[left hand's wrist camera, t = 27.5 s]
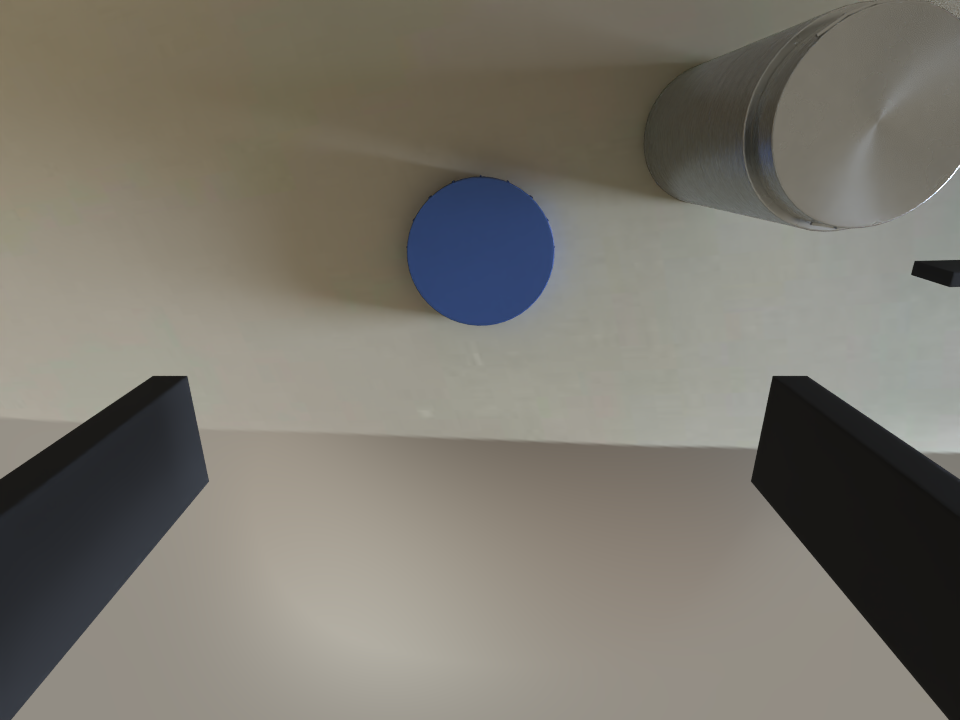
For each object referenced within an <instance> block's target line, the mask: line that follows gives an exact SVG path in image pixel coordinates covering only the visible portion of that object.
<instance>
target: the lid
mask: <svg viewBox="0 0 960 720" xmlns="http://www.w3.org/2000/svg"><path fill="white" fill-rule="evenodd" d="M532 198H533V197H532V196H531V195H530V196H529V195H528V194H526V193H525V192H524V191H522V190H521V189H520V188H518V187H516V186H515V185H513V184H511V183H509V181H508V180H507V181H504V180H500V179H497V178H492V177H481V175H480V177H470V178H464V179H461V180H458V181H452V183H451V184H448V185H446V186H445V187H443V188H442V189H440V190H439V191H438V192H436V193H435V194H434V195H433V196H432V195H431V196H430V197H429V199H428V201H427V202H426V203H425V204H424V205H423V206H422V208H421V209H420V211H419V212H418V214H417V215H416V217H415V218H414V219H413V224H412V227H411V229H410V232H409V238H408V244H407V259H408V266H409V271H410V274H411V277H412V280H413V282H414V284H415V286H416V288H417V290H418V291H419V293H420V294H421V296H422V297H423V298H424V299H425V300H426V302H427V303H428V304H429V305H430V306H431V307H433V308H434V309H435V310H436V311H438V312H439V313H440V314H442V315H444V316H445V317H447V318H449V319H451V320H454V321H457V322H459V323H464V324H468V325H477V326H481V325H493V324H498V323H501V322H505V321H507V320H510V319H512V318H514V317H516V316H518V315H519V314H521V313H522V312H524V311H525V310H526V309H528V308H529V307H530V306H531V305H532V304H533V303H534V302H535V301H536V300H537V298H538V297H539V296H540V295H541V293H542V292H543V290H544V288H545V287H546V285H547V282H548V280H549V278H550V275H551V271H552V268H553V262H554V248H555V246H554V241H553V236H552V232H551V228H550V226H549V223H548V219H547V218H546V217H545V215H544V213H543V211H542V210H541V209H540V207H539V206H538V205H537V203H536V202H535V201H534V200H533V199H532Z"/></svg>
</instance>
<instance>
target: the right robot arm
mask: <svg viewBox="0 0 960 720" xmlns="http://www.w3.org/2000/svg"><path fill="white" fill-rule="evenodd" d="M911 275H913V276H917V277H920V278H923V279H926V280H929V281H932V282H935V283H939V284H942V285H945V286H948V287H960V260H940V261H915V262H914V266H913V270H912V273H911Z"/></svg>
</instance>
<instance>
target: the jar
mask: <svg viewBox="0 0 960 720" xmlns="http://www.w3.org/2000/svg"><path fill="white" fill-rule="evenodd" d="M933 3H934V2H928V1H922V0H878V1H877V0H875V1H871V2H860V3H855V4H850V5H846V6H844V7H841V8H838V9H835V10H832V11H830V12H827V13H825V14H822V15H820V16H818V17H815V18H813V19H810V20H808V21H805V22H803V23H800V24H798V25H796V26H793V27H791V28H788V29H786V30H783V31H781V32H779V33H776V34H774V35H771V36H769V37H766V38H764V39H761V40H759V41H757V42H754V43H752V44H749V45H747V46H744V47H742V48H739V49H737V50H735V51H732V52H730V53H727V54H725V55H722V56H720V57H718V58H715V59H713V60H710V61H708V62H705V63H703V64H700V65H698V66H696V67H693V68H691V69H689V70H687V71H685V72H684V73H682V74H681V75H679V76H678V77H677V78H676V79H674V80H673V81H672V82H671V83H670V84H669V85H668V86H667V87H666V88H665V89H664V90H663V92H662V93H661V94H660V96H659V97H658V99H657V100H656V102H655V104H654V106H653V107H652V110H651V112H650V114H649V117H648V120H647V124H646V129H645V134H644V152H645V157H646V162H647V165H648V168H649V170H650V172H651V174H652V176H653V178H654V179H655V181H656V182H657V184H658V185H659V186H660V187H661V188H662V189H663V190H664V191H665V192H667V193H668V194H669V195H671V196H673V197H675V198H676V199H679V200H681V201H684V202H689V203H693V204H697V205H702V206H706V207H710V208H715V209H719V210H724V211H728V212H732V213H737V214H741V215H746V216H750V217H754V218H759V219H763V220H767V221H772V222H776V223H781V224H785V225H789V226H794V227H798V228H802V229H807V230H812V231H823V232H824V231H839V230H844V229H850V228H864V227H869V226H875V225H879V224H882V223H885V222H889V221H891V220H893V219H896V218H898V217H900V216H903V215H905V214H906V213H908V212H910V211H912V210H913V209H915V208H917V207H918V206H920V205H921V204H922V203H924V202H925V201H927V200H928V199H929V198H930V197H932V196H933V195H934V194H935V193H936V192H937V191H938V190H940V189H941V188H942V186H943V185H944V184H945V183H946V182H947V181H948V180H949V179H950V178H951V177H952V175H953V174H954V173H955V172H956V170H957V169H958V168H959V166H960V19H959V18H957V17H956V16H955V15H953V14H952V13H950V12H949V11H947V10H945V9H943V8H941V7H939V6H937V5H933Z"/></svg>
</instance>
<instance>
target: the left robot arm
mask: <svg viewBox="0 0 960 720" xmlns="http://www.w3.org/2000/svg"><path fill="white" fill-rule="evenodd" d="M208 482H209V479H208V474H207V470H206V465H205V460H204V455H203V450H202V445H201V441H200V436H199V431H198V426H197V421H196V416H195V412H194V407H193V402H192V397H191V392H190V387H189V383H188V378H187V376H152V377H151V378H149V379H148V380H146V381H145V382H143V383H142V384H140V385H139V386H138V387H136V388H135V389H133V390H132V391H130V392H129V393H127V394H126V395H124V396H123V397H121V398H120V399H118V400H117V401H115V402H114V403H112V404H111V405H109V406H108V407H106V408H105V409H104V410H102V411H101V412H99V413H98V414H96V415H95V416H93V417H92V418H90V419H89V420H87V421H86V422H84V423H83V424H81V425H80V426H78V427H77V428H75V429H74V430H73V431H71V432H70V433H68V434H67V435H65V436H64V437H62V438H61V439H59V440H58V441H56V442H55V443H53V444H52V445H50V446H49V447H47V448H46V449H44V450H43V451H41V452H40V453H39V454H37V455H36V456H34V457H33V458H31V459H30V460H28V461H27V462H25V463H24V464H22V465H21V466H19V467H18V468H16V469H15V470H13V471H12V472H10V473H9V474H7V475H6V476H5V477H3V478H2V479H0V720H11V719H12V718H13V717H14V716H15V714H16V713H17V712H18V711H19V710H20V708H21V707H22V706H23V705H24V703H25V702H26V701H27V700H28V699H29V697H30V696H31V695H32V694H33V693H34V691H35V690H36V689H37V688H38V687H39V685H40V684H41V683H42V682H43V681H44V679H45V678H46V677H47V676H48V675H49V673H50V672H51V671H52V670H53V669H54V667H55V666H56V665H57V664H58V662H59V661H60V660H61V659H62V658H63V656H64V655H65V654H66V653H67V652H68V650H69V649H70V648H71V647H72V646H73V644H74V643H75V642H76V641H77V640H78V638H79V637H80V636H81V635H82V634H83V632H84V631H85V630H86V629H87V628H88V626H89V625H90V624H91V623H92V622H93V620H94V619H95V618H96V617H97V616H98V614H99V613H100V612H101V611H102V610H103V608H104V607H105V606H106V605H107V603H108V602H109V601H110V600H111V599H112V598H113V596H114V595H115V594H116V593H117V591H118V590H119V589H120V588H121V587H122V585H123V584H124V583H125V582H126V581H127V579H128V578H129V577H130V576H131V575H132V573H133V572H134V571H135V570H136V569H137V567H138V566H139V565H140V564H141V563H142V561H143V560H144V559H145V558H146V556H147V555H148V554H149V553H150V552H151V551H152V549H153V548H154V547H155V546H156V545H157V543H158V542H159V541H160V540H161V538H162V537H163V536H164V535H165V534H166V532H167V531H168V530H169V529H170V528H171V526H172V525H173V524H174V523H175V522H176V520H177V519H178V518H179V517H180V516H181V514H182V513H183V512H184V511H185V510H186V508H187V507H188V506H189V505H190V504H191V502H192V501H193V500H194V499H195V497H196V496H197V495H198V494H199V493H200V491H201V490H202V489H203V488H204V487H205V485H206V484H207V483H208ZM751 482H752V483H753V484H754V485H755V487H756V488H757V489H758V490H759V491H760V493H761V494H762V495H763V496H764V497H765V499H766V500H767V501H768V502H769V503H770V505H771V506H772V507H773V508H774V510H775V511H776V512H777V513H778V514H779V516H780V517H781V518H782V519H783V520H784V522H785V523H786V524H787V525H788V526H789V528H790V529H791V530H792V531H793V532H794V534H795V535H796V536H797V537H798V538H799V540H800V541H801V542H802V543H803V544H804V546H805V547H806V548H807V549H808V551H809V552H810V553H811V554H812V555H813V557H814V558H815V559H816V560H817V561H818V563H819V564H820V565H821V566H822V567H823V569H824V570H825V571H826V572H827V573H828V575H829V576H830V577H831V578H832V579H833V581H834V582H835V583H836V584H837V585H838V587H839V588H840V589H841V590H842V591H843V593H844V594H845V595H846V596H847V598H848V599H849V600H850V601H851V602H852V604H853V605H854V606H855V607H856V608H857V610H858V611H859V612H860V613H861V614H862V616H863V617H864V618H865V619H866V620H867V622H868V623H869V624H870V625H871V626H872V628H873V629H874V630H875V631H876V632H877V634H878V635H879V636H880V637H881V638H882V640H883V641H884V642H885V643H886V644H887V646H888V647H889V648H890V649H891V650H892V652H893V653H894V654H895V655H896V657H897V658H898V659H899V660H900V661H901V663H902V664H903V665H904V666H905V667H906V669H907V670H908V671H909V672H910V673H911V675H912V676H913V677H914V678H915V679H916V681H917V682H918V683H919V684H920V685H921V687H922V688H923V689H924V690H925V691H926V693H927V694H928V695H929V696H930V697H931V699H932V700H933V701H934V702H935V704H936V705H937V706H938V707H939V708H940V709H941V711H942V712H943V713H944V714H945V716H946V717H947V718H948V719H949V720H960V479H958V478H957V477H956V476H954V475H953V474H951V473H950V472H948V471H947V470H945V469H944V468H942V467H941V466H939V465H938V464H936V463H935V462H933V461H932V460H930V459H929V458H927V457H926V456H924V455H923V454H922V453H920V452H919V451H917V450H916V449H914V448H913V447H911V446H910V445H908V444H907V443H905V442H904V441H902V440H901V439H899V438H898V437H896V436H895V435H893V434H892V433H890V432H889V431H888V430H886V429H885V428H883V427H882V426H880V425H879V424H877V423H876V422H874V421H873V420H871V419H870V418H868V417H867V416H865V415H864V414H862V413H861V412H859V411H858V410H856V409H855V408H854V407H852V406H851V405H849V404H848V403H846V402H845V401H843V400H842V399H840V398H839V397H837V396H836V395H834V394H833V393H831V392H830V391H828V390H827V389H825V388H824V387H822V386H821V385H820V384H818V383H817V382H815V381H814V380H812V379H811V378H809V377H808V376H773V378H772V382H771V387H770V392H769V397H768V402H767V407H766V412H765V416H764V421H763V426H762V431H761V436H760V441H759V445H758V450H757V455H756V460H755V465H754V470H753V474H752V479H751Z"/></svg>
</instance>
